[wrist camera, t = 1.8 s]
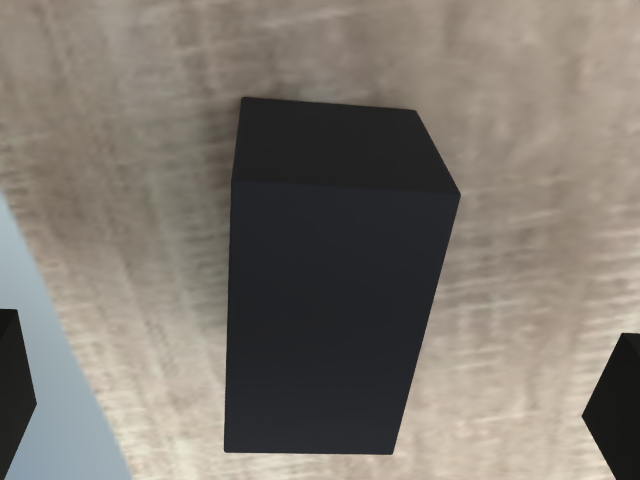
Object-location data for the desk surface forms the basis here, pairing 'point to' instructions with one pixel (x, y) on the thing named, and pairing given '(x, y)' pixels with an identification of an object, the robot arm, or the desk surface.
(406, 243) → the black rectangular block
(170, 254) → the desk surface
